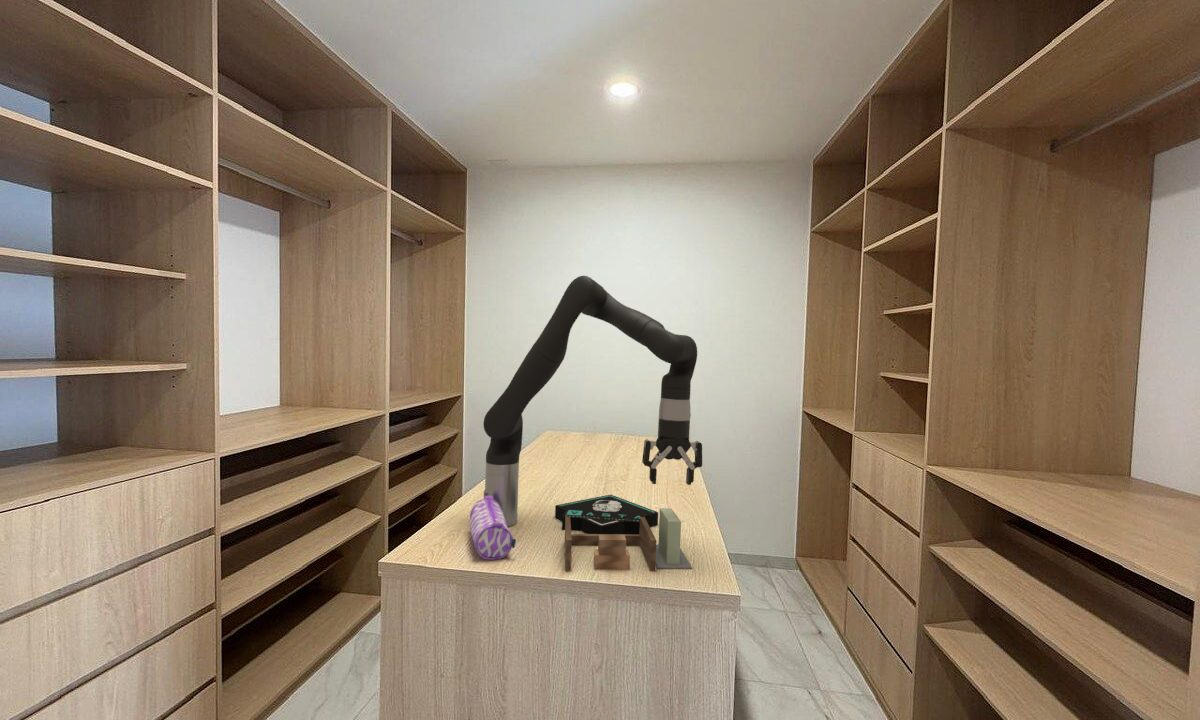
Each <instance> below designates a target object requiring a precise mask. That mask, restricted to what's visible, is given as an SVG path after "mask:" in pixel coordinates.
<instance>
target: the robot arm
mask: <svg viewBox="0 0 1200 720" xmlns="http://www.w3.org/2000/svg"><path fill="white" fill-rule="evenodd" d="M581 314H583V315H585V316H589V317H592V318H595V319H597V320H600V321H603V322H605V323H608V324H610V325H611V326H613V327H615V328H616V329H618V330H619V331H621V332H622V333H623V334H624V335H626V336H627V337H629V338H631V339H632V340H634V341H635V342H637V343H638V344H640V345H641V346H644V347H646V348H647V349H648V350H649V351H650V352H651V353H652V354H653V355H654V356H656V358H657V359H659V360H661V361H663V362H665V363H668V364H670V365H669V370H668V372H667V373H666V374H664V375H663V376H662V378H661V387H660V388H661V389H660V400H659V401H660V402H659V408H658V425H657V439H656V440H649V439H644V442H643V451H642V464H643V465H644V466H645V467H649V474H648V475H649V477H648V479H649V481H650V482H651V484H652V485H657V473H658V472H657V470H658V469H657V466H658V465H659V464H661V462H663V460H664V459H666V460H668V461H669V460H677V461H679V460H681V459H682V460H683V462H684V463H685V465H686V466H687V467H686V475H685V478H686V479H685V483H686V485H687V486H691V485H692V483H693V482H694V478H695V470H696V469H697V468H702V467H703V443H701V442H700V441H698V440H696V441H694V442H693V441H690V427H691V426H690V424H691V416H692V414H691V413H692V412H691V388H692V387H691V381H692V379H693V375H694V373H695V369H696V364H697V360H698V346H697V343H696V342H695V340H694V339H693V338H692V336H689V335H686V334H676V333H673V332H671V331H669V330H667V329H666V328H665V327H664V325H663V324H662V323H661V322H660V321H658V320H656V319H655V318H653V317H651V316H649V315H647V314H645V313H643V312H641V311H640V310H636V309H634V308H631V307H629V306H626V305H625V304H624V303H621V302H620V301H618V299H616V298H615V297H613V296H612V295H611V294H610V293H609V292H608V291H607V290H606V289H605V288H604V286H602V285H601V284H599V283H598V282H597V281H596V280H594V279H592V277H589V276H588V275H580V276H577V277H576V278H574V279H572V281H570V283H569V285H568V286H567V288H566V289H565V291H564V293H563V295H562V297H561V298H560V300H559V302H558V304H557V306H556V307H555V310H554V312H553V314H552V315H551V317H550V319H549V320H548V322H547V323H546V324H545V326H544V328H543V330H542V332H541V333H540V334H539V336H538V338H537V339H536V341H535V342H534V343H533V344H532V346H531V347H530V349H529V351H528V353H527V354H526V355H525V357H524V358H523V361H522V362H521V364H520V365H519V367H518V369H517V370H516V372H515V373H514V375H513V377H512V378H511V381H510V383H509V384H508V386H507V387H506V388H505V390H504V391H503V392H502V394H501V395H500V396H499V397H498V399H497V400H496V401H495V402H494V403H493V405H492V406H491V407H490V408H489V409H488V410H487V412H486V414H485V416H484V418H483V430H484V432H485V434H486V435H487V436H488V437H489V438H490V443H489V446H488V448H487V450H486V453H485V477H484V478H485V479H484V481H485V484H484V490H483V499H485V497H484V496H493V500H495V501H496V502H497V503H498V504H499V505H500V508H501V510H502V512H503V515H504V518H505V520H506V523H507V527H511V526H514V525H516V524H517V523H518V511H519V510H518V507H519V506H518V503H519V477H520V475H519V473H520V472H519V471H520V469H519V468H520V455H521V451H522V445H523V443H522V442H523V426H524V425H523V423H524V422H523V412H524V411H525V409H526V407H527V406H528V404H529V403H530V402H531V401H532V399H533V398H535V397H536V395H537V394H539V392H540V391H541V390H542V389H543V388H544V387H545V386H546V385H547V383H548V382H550V380H551V379H552V378H553V376H554V375H555V374H556V372H557V371H558V369H559V368H560V366H561V364H562V363H563V361H564V359H565V357H566V354H567V353H566V352H567V350H568V343H569V337H570V333H571V330H572V328H573V326H574V324H575V323H576V321H577V319H578V318H579V317H580V315H581ZM654 447H655V448H657V450H658V451H657V452H656V453H655V454H654V457H653V458H652V459H651V460H650V455H651V451H652V450H653V449H654ZM690 448H691V449H692V450H693V451H694V461H692V460H691V459H690V457H689V456H688V454H687V453H688V451H689V450H690Z"/></svg>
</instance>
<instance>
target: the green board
mask: <svg viewBox="0 0 1200 720" xmlns="http://www.w3.org/2000/svg"><path fill="white" fill-rule="evenodd" d="M681 531H682V521H681V519H680V518H679V516H678V515H677V514H676V513H675V511H674V510H673V508H667V507H663V508H661V507H659V516H658V544H657V545H658V548H659V550H660V552H661V554H662V556H663V557H664V559H665V561H666V563H667V564H679V563H680V548H681V537H682V535H681V533H682V532H681Z"/></svg>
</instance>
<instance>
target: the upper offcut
mask: <svg viewBox="0 0 1200 720" xmlns="http://www.w3.org/2000/svg"><path fill="white" fill-rule="evenodd" d="M597 547H598V548H597V549H598V551H599V555H618V556H626V549H627V546H626V538H625V535H599V544H598V546H597Z"/></svg>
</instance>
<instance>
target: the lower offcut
mask: <svg viewBox="0 0 1200 720" xmlns="http://www.w3.org/2000/svg"><path fill="white" fill-rule="evenodd" d="M630 563H631V554H630V551H629V548H626V556H618V555H599V551H598V548H594V550H593V568H594V570H614V571H615V570H616V571H617V570H619V571H621V570H625V571H629V570H631V569H630V568H631V567H630V565H631V564H630Z"/></svg>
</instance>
